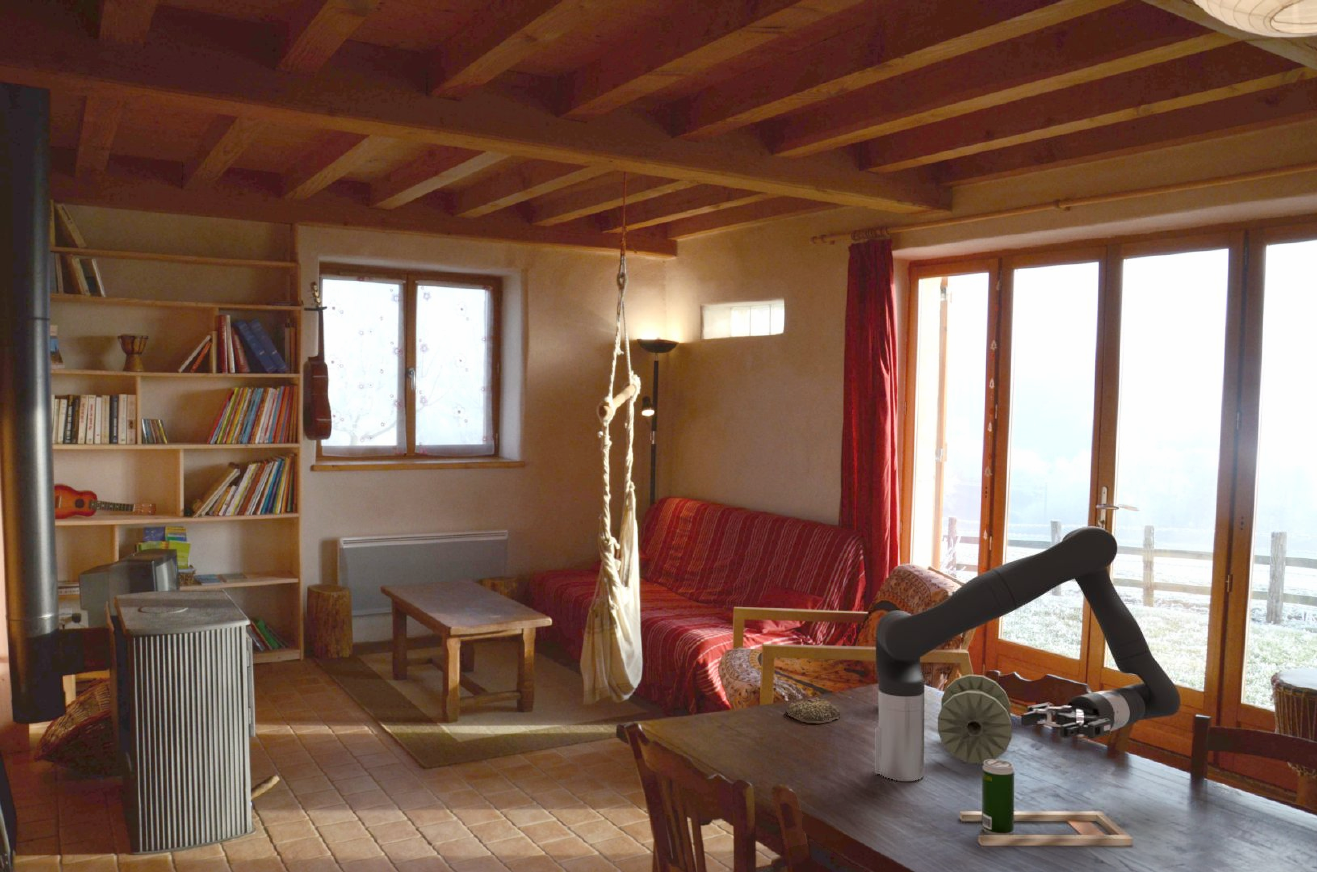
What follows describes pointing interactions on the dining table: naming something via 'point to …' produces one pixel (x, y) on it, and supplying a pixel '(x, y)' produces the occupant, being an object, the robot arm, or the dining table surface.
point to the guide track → (1074, 818)
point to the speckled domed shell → (813, 710)
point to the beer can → (998, 797)
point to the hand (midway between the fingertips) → (1041, 726)
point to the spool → (975, 719)
